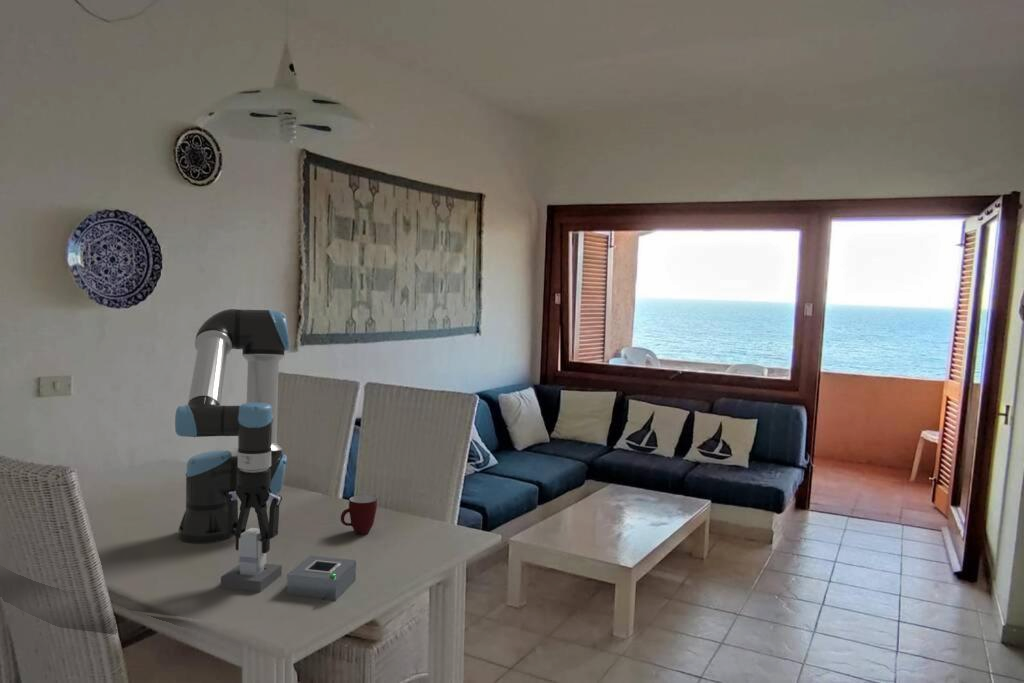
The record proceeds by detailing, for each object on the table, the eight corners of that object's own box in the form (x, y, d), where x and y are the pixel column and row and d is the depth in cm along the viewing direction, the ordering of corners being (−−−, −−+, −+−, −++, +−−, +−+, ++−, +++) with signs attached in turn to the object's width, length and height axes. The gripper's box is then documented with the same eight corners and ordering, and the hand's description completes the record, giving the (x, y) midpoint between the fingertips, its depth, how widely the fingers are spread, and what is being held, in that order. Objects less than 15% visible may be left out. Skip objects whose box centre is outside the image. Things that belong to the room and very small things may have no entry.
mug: (347, 540, 197) (348, 505, 196) (335, 532, 203) (336, 498, 202) (380, 533, 203) (381, 500, 202) (368, 525, 209) (369, 493, 209)
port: (286, 595, 160) (287, 571, 159) (309, 575, 171) (310, 553, 171) (335, 601, 158) (336, 577, 157) (355, 580, 170) (356, 558, 169)
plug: (239, 583, 163) (240, 531, 163) (248, 576, 168) (249, 526, 167) (255, 585, 163) (256, 533, 162) (264, 578, 167) (265, 527, 166)
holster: (220, 589, 161) (220, 576, 161) (243, 572, 171) (244, 561, 171) (260, 594, 160) (260, 581, 159) (281, 577, 169) (281, 565, 169)
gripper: (211, 469, 161) (209, 566, 163) (280, 475, 158) (278, 574, 160) (229, 461, 169) (227, 555, 170) (295, 467, 166) (293, 562, 167)
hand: (252, 564), depth 165 cm, fingers closed on plug, 4 cm apart
